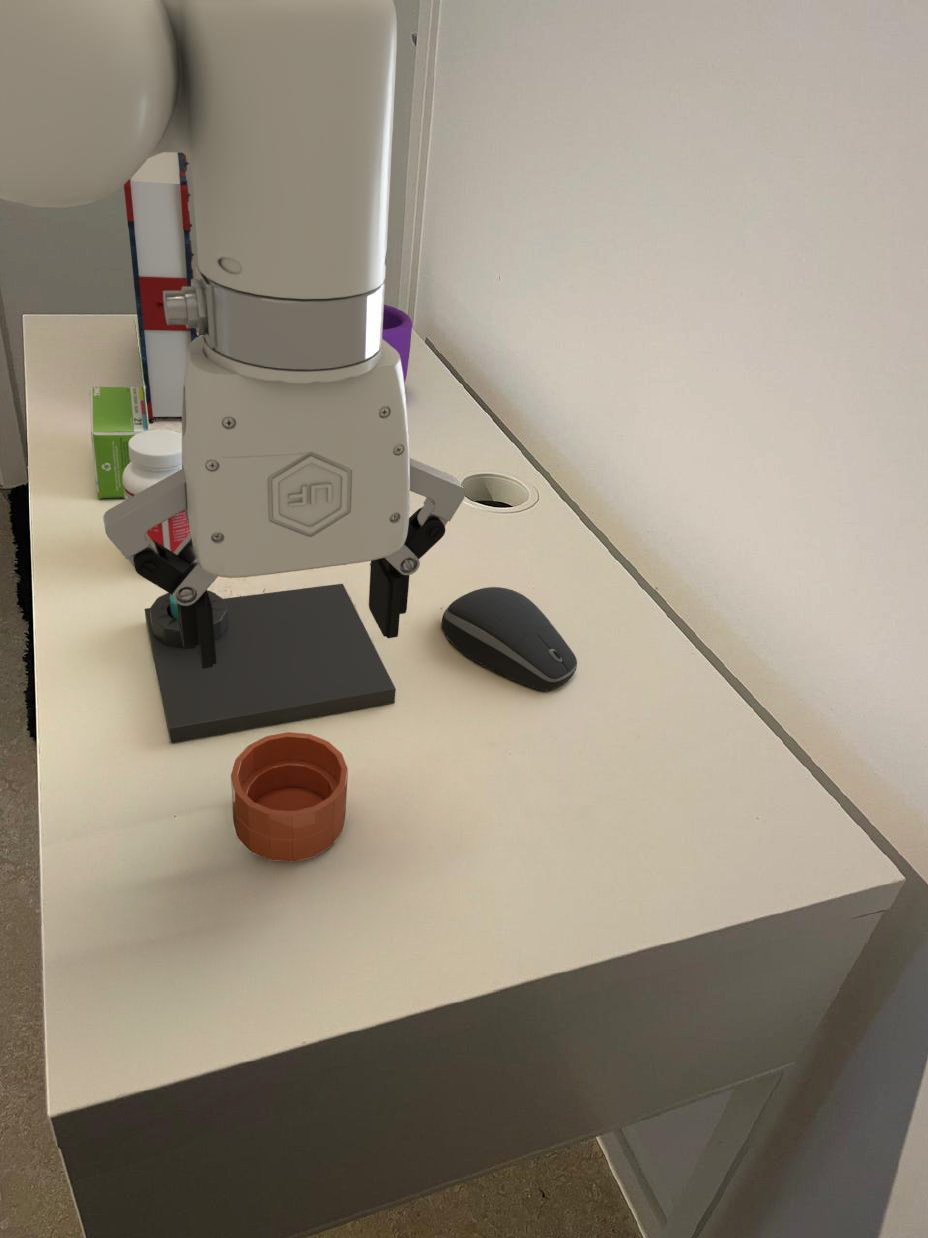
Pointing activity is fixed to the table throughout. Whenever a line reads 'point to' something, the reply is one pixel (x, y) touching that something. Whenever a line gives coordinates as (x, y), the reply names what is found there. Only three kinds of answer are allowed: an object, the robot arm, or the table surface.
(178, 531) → the pill bottle
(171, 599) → the button
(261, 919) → the table surface
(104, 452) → the ink box
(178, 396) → the book
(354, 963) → the table surface
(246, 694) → the scale
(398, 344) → the mug
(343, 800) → the bowl
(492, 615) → the computer mouse
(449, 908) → the table surface
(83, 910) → the table surface
